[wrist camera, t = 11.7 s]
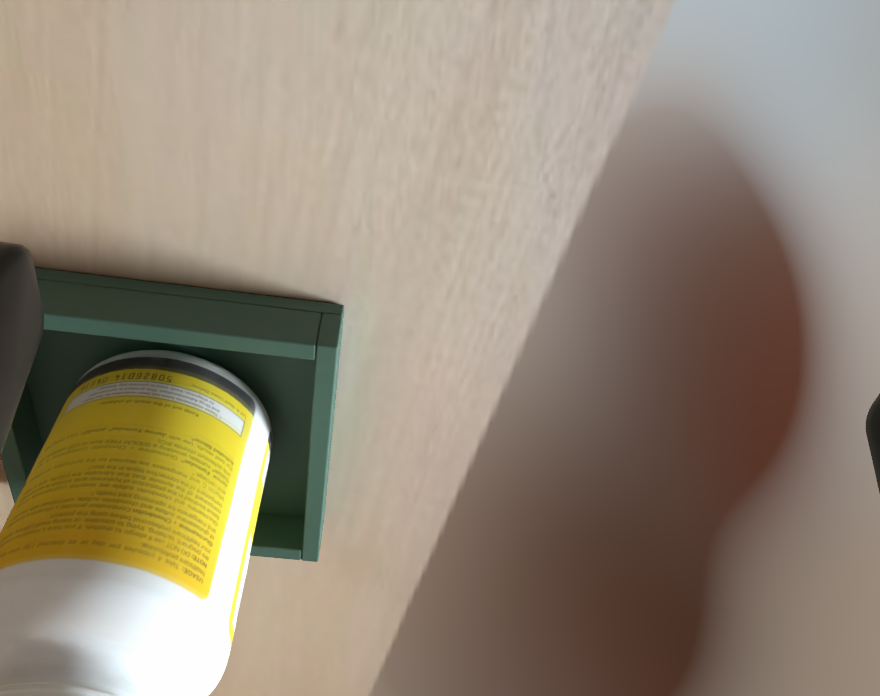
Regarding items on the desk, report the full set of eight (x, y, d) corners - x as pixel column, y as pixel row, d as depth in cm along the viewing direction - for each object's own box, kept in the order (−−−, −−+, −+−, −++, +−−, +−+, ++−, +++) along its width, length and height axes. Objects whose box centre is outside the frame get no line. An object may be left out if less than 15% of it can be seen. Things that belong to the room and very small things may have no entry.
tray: (344, 304, 25) (337, 348, 23) (324, 517, 31) (317, 562, 30) (-12, 261, 24) (-44, 303, 22) (44, 490, 30) (22, 535, 29)
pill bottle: (56, 330, 25) (-163, 714, 16) (275, 348, 25) (182, 732, 16) (92, 473, 29) (-65, 841, 20) (279, 487, 29) (207, 853, 20)
